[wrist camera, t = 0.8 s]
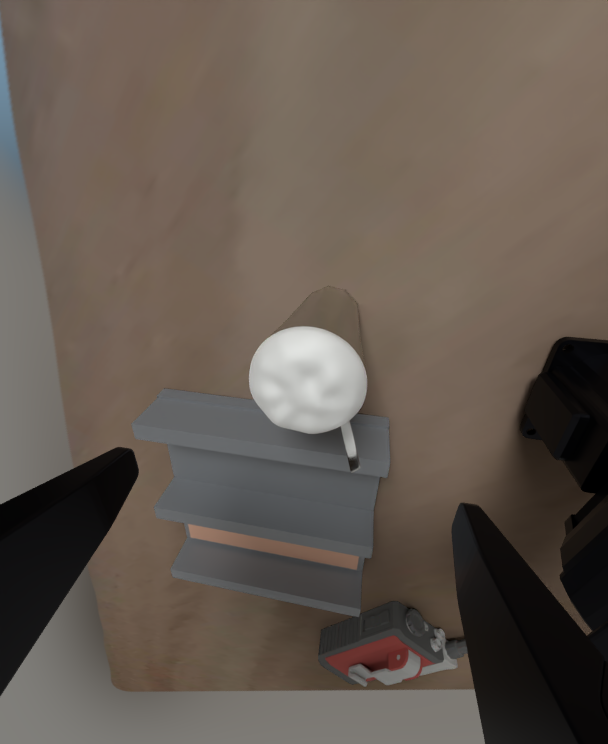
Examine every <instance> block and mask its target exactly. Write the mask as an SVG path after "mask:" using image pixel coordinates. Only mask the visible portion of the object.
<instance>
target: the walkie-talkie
mask: <svg viewBox="0 0 608 744" xmlns="http://www.w3.org/2000/svg"><path fill="white" fill-rule="evenodd" d="M466 653H468V652H467V646H466V641H465V639H463V640H460V641H458V640H452V641H448V640H446V639H445V633H444V631H443V630H442V629H441V628H440V629H438V628H434V627H433V626H432V625H430V624H429V623H427V622H426V621H425V620H423V619H422V617H421V615H420V613H419V612H418V611H417V610H415V609H408V608H406V607H405V606H404V605H402V604H401V603H400V602H398V601H392V602H389V603H387V604H384V605H382V606H379V607H377V608H374V609H371V610H369V611H366V612H364V613H361V614H360V615H359V617H352V618H349V619H348V620H345V621H341V623H338V624H334V625H331V627H328V628H324V629H321V638H320V646H319V654H318V661H319V663H320V664H321V666H323V667H324V668H326V669H327V670H329V671H330V672H332V673H334V674H335V675H337V676H338V677H340V678H342V679H343V680H345V681H346V682H348V683H350V684H352V685H353V684H357V683H360V684H361V685H363V686H364V687H366V685H367V682H370V681H373V680H377V679H378V680H379V681H381V682H382V683H384V684H385V685H391V684H395V683H399V682H402V680H403V679H404V680H406V681H407V680H411V679H415V678H417V677H418V676H419V675H425V674H429V673H433V672H437V671H441V670H445V669H454V668H457V660H456V658H460V657H463V656H464V654H466Z"/></svg>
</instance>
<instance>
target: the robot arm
mask: <svg viewBox="0 0 608 744" xmlns="http://www.w3.org/2000/svg"><path fill="white" fill-rule="evenodd" d="M568 344H570V347H569V348H568V349H566V350H563V347H564V346H565V345H568ZM524 411H525V416H524V418H523V421H522V423H521V425H520V431H521V433H522V435H523V436H524V437H526V438H530V439H538V440H543V442H544V443H545V445H546V446H547V448H548V450H549V451H550V453H551V454H552V456H553V457H554V458H555V459H556V460H562V461H563V462H564V464H565V465H566V467H567V468H568V470H569V471H570V473H571V474H572V476H573V478H574V479H575V481H576V482H577V484H578V485H579V487H580V488H581V490H582V491H584V492H589V493H595V495H594V496H593V497H592V498H591V499H590V500H589V501H588V502H587V503H586V504H585V505H584V506H583V507H582V508H581V509H580V510H579V512H578V513H577V514H576V515H573V514H572V515H571V516H570V517H569V518H568V519H567V520H566V521H565V531H566V537H565V539H564V541H563V544H562V546H561V548H560V550H561V559H562V567H563V570H564V571H563V572H562V573H561V574H560V580H561V582H562V584H563V586H564V588H565V590H566V592H567V594H568V596H569V598H570V600H571V602H572V604H573V605H574V607H575V608H576V610H577V611H578V613H579V614H580V616H581V617H582V619H583V620H584V622H585V623H586V624H587V625H588V627H589V628H590V629H591V630H592V631H593V632H591V633H590V634H588V635H587V636H586V634H585V633H584V632H583V631H582V630H581V628H580V627H579V626H578V625H577V624H576V622H575V621H574V620H573V619H572V618H571V616H570V615H569V614H568V613H567V612H566V610H565V609H564V608H563V607H562V605H561V604H560V603H559V602H558V601H557V599H556V598H555V597H554V596H553V595H552V593H551V592H550V591H549V590H548V589H547V587H546V586H545V585H544V584H543V582H542V581H541V580H540V579H539V578H538V576H537V575H536V574H535V573H534V572H533V570H532V569H531V568H530V567H529V566H528V564H527V563H526V562H525V561H524V560H523V558H522V557H521V556H520V555H519V553H518V552H517V551H516V550H515V549H514V547H513V546H512V545H511V544H510V543H509V541H508V540H507V539H506V538H505V537H504V535H503V534H502V533H501V532H500V531H499V529H498V528H497V527H496V526H495V524H494V523H493V522H492V521H491V520H490V518H489V517H488V516H487V515H486V514H485V512H484V511H483V510H482V509H481V508H480V507H479V506H478V505H475V504H469V503H460V505H459V506H458V509H457V512H456V515H455V518H454V521H453V524H452V542H453V555H454V567H455V579H456V590H457V599H458V605H459V610H460V615H461V621H462V626H463V631H464V636H465V641H466V646H467V652H468V657H469V662H470V667H471V672H472V677H473V683H474V688H475V692H476V698H477V703H478V708H479V714H480V719H481V723H482V729H483V734H484V739H485V744H608V340H597V339H586V338H575V337H563V338H561V339H559V340H558V341H556V343H555V344H554V347H553V349H552V351H551V354H550V356H549V359H548V361H547V363H546V366H545V368H544V371H543V372H542V373H541V374H539V375H538V378H537V380H536V382H535V385H534V387H533V390H532V392H531V394H530V397H529V399H528V402H527V404H526V406H525V409H524ZM531 428H533V429H532V430H531V431H527V430H528V429H531ZM138 473H139V469H138V465H137V461H136V458H135V455H134V452H133V450H132V449H129V448H123V447H117V448H114V449H112V450H110V451H108V452H106V453H104V454H102V455H100V456H98V457H96V458H94V459H92V460H90V461H88V462H86V463H84V464H82V465H80V466H78V467H76V468H74V469H72V470H70V471H67V472H65V473H64V474H61V475H59V476H57V477H55V478H53V479H51V480H49V481H47V482H45V483H43V484H41V485H39V486H37V487H35V488H33V489H31V490H29V491H27V492H25V493H23V494H21V495H19V496H17V497H15V498H12V499H10V500H9V501H6V502H5V503H2V504H0V696H1V694H2V693H3V691H4V690H5V688H6V687H7V685H8V683H9V682H10V681H11V679H12V678H13V676H14V675H15V673H16V671H17V670H18V668H19V667H20V665H21V664H22V662H23V661H24V659H25V658H26V656H27V655H28V653H29V652H30V650H31V649H32V647H33V646H34V644H35V643H36V641H37V639H38V638H39V636H40V635H41V633H42V632H43V630H44V629H45V627H46V626H47V624H48V623H49V621H50V620H51V618H52V617H53V615H54V613H55V612H56V610H57V609H58V607H59V605H60V604H61V603H62V601H63V600H64V598H65V597H66V595H67V594H68V592H69V591H70V589H71V588H72V586H73V585H74V583H75V581H76V580H77V578H78V577H79V575H80V574H81V572H82V571H83V569H84V568H85V566H86V565H87V563H88V562H89V560H90V559H91V557H92V556H93V554H94V552H95V551H96V549H97V548H98V546H99V545H100V543H101V542H102V540H103V539H104V537H105V536H106V534H107V532H108V531H109V529H110V528H111V526H112V524H113V522H114V521H115V519H116V517H117V515H118V513H119V511H120V510H121V508H122V506H123V504H124V502H125V500H126V498H127V496H128V494H129V493H130V491H131V489H132V487H133V485H134V483H135V481H136V479H137V477H138Z"/></svg>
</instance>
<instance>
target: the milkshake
mask: <svg viewBox="0 0 608 744" xmlns="http://www.w3.org/2000/svg"><path fill="white" fill-rule="evenodd" d="M249 386H250V391H251V394H252V396H253V398H254V400H255V402H256V403H257V405H258V406H259V407H260V408H261V410H262V411H263V412H264V413H265V414H266V415H267V417H268V418H269V419H270V420H271V421H272V422H273V423H274V424H275V425H277V426H279V427H282V428H286V429H291V430H295V431H299V432H303V433H307V434H318V433H323V432H327V431H330V430H333V429H336V428H338V427H340V426H341V431H342V436H343V440H344V445H345V449H346V454H347V459H348V463H349V468H350V472H351V473H352V472H355V471H356V470H358V469H360V467H361V466H360V461H359V457H358V453H357V449H356V445H355V440H354V436H353V432H352V428H351V424H350V420H351V419H352V418H353V417H354V416H355V415H356V414H357V413H358V411H359V410H360V409H361V407H362V405H363V403H364V400H365V397H366V392H367V375H366V369H365V362H364V356H363V350H362V344H361V338H360V330H359V316H358V304H357V302H356V301H355V300H354V299H353V298H352V297H351V296H350V294H349V293H348V292H347V291H346V290H343V289H339V288H335V287H331V286H327V287H324V288H322V289H320V290H317V291H315V292H312V293H311V294H310V295H309V296H308V297H307V298H306V299H305V300H304V301H303V303H302V304H301V305H300V306H299V307H298V308H297V309H296V310H295V311H294V312H293V313H292V314H291V316H290V317H289V318H288V319H287V320H286V321H285V322H284V323H283V324H282V325H281V326H280V327H279V328H278V329H277V330H276V331H274V332H273V333H272V334H271V335H270V336H269V337H268V338H267V339H266V340H265V341H264V342H263V343H262V344H261V345H260V347H259V348H258V349H257V351H256V353H255V354H254V357H253V359H252V362H251V366H250V372H249Z"/></svg>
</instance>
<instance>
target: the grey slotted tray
mask: <svg viewBox="0 0 608 744" xmlns="http://www.w3.org/2000/svg"><path fill="white" fill-rule="evenodd" d="M350 424H351V428H352V432H353V436H354V440H355V445H356V449H357V453H358V457H359V461H360V466H361V467H360V469H358V470H356V471H355V472H352V473H351V472H350V468H349V463H348V459H347V454H346V449H345V445H344V440H343V436H342V431H341V426H340V427H338V428H336V429H333V430H330V431H327V432H323V433H318V434H307V433H303V432H299V431H295V430H291V429H286V428H282V427H279V426H277V425H275V424H274V423H273V422H272V421H271V420H270V419H269V418H268V417H267V415H266V414H265V413H264V412H263V411H262V410H261V408H260V407H259V406H258V405H257V403H256V402H255V400H250V399H242V398H234V397H227V396H219V395H211V394H204V393H196V392H188V391H181V390H173V389H165V388H164V389H163V390H162V391H161V392H160V393H159V394H158V395H157V399H156V400H155V401H154V402H153V403H152V404H151V405H150V406H149V407H148V408H147V409H146V410H145V411H144V412H143V413H142V414H141V415H140V416H139V417H138V418H137V419H136V420H135V421H134V422H133V423H132V428H133V432H134V436H135V439H140V440H147V441H153V442H159V443H166V444H167V445H168V450H169V455H170V459H171V464H172V469H173V473H174V478H173V480H172V481H171V483H170V484H169V486H168V487H167V489H166V490H165V492H164V493H163V494H162V496H161V497H160V499H159V500H158V502H157V503H156V505H155V506H154V510H155V513H156V517H157V518H160V519H165V520H170V521H175V522H181V523H184V525H185V529H186V534H187V539H186V541H185V543H184V545H183V547H182V548H181V550H180V552H179V554H178V556H177V558H176V560H175V562H174V563H173V565H172V567H171V573H172V576H173V577H174V578H179V579H183V580H188V581H192V582H197V583H202V584H206V585H211V586H216V587H220V588H225V589H230V590H234V591H239V592H243V593H248V594H253V595H257V596H262V597H267V598H271V599H276V600H281V601H285V602H290V603H294V604H299V605H304V606H308V607H313V608H318V609H322V610H327V611H332V612H336V613H341V614H345V615H350V616H355V617H359V615H360V610H361V588H362V570H363V565H364V559H365V558H370V559H371V556H372V551H373V515H374V506H375V501H376V495H377V490H378V485H379V479H380V477H384V478H387V476H388V471H389V466H390V445H389V418H388V417H380V416H372V415H365V414H356V415H355V416H354V417H353V418H352V419H351V420H350Z"/></svg>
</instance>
